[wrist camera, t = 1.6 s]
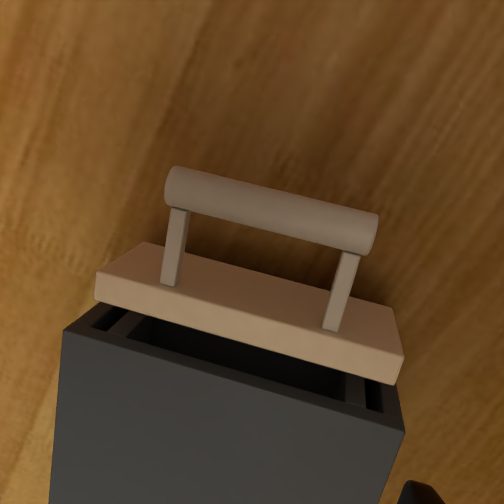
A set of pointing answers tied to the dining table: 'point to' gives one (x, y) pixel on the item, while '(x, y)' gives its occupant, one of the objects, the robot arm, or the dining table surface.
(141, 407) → the dark grey rectangular box
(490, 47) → the dining table surface
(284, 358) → the drawer
